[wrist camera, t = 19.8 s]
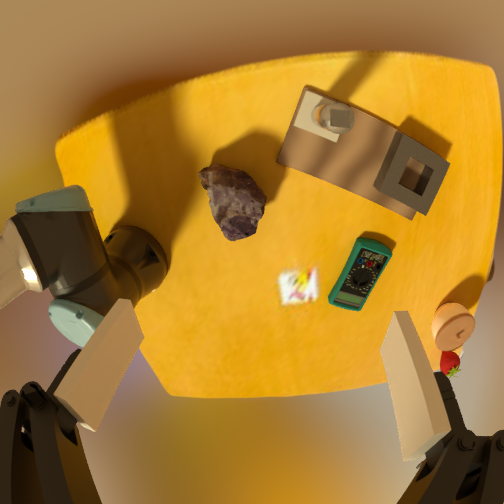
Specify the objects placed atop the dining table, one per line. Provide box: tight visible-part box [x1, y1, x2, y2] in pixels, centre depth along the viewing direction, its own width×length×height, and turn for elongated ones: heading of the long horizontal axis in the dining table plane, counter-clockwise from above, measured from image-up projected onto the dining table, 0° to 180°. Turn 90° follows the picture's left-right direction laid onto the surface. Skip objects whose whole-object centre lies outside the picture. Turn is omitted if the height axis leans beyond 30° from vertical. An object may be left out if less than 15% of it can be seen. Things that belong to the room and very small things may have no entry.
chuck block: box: [373, 132, 450, 216], centre depth 38 cm, size 10×10×3 cm
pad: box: [293, 91, 340, 142], centre depth 37 cm, size 7×6×1 cm
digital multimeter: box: [328, 238, 392, 311], centre depth 49 cm, size 7×15×3 cm, turn 165°
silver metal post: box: [311, 102, 355, 134], centre depth 30 cm, size 3×3×15 cm
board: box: [277, 87, 441, 221], centre depth 40 cm, size 26×13×1 cm, turn 72°
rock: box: [198, 164, 266, 241], centre depth 42 cm, size 12×9×10 cm
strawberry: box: [440, 351, 460, 378], centre depth 54 cm, size 6×8×10 cm
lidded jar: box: [432, 302, 475, 351], centre depth 48 cm, size 11×11×9 cm
